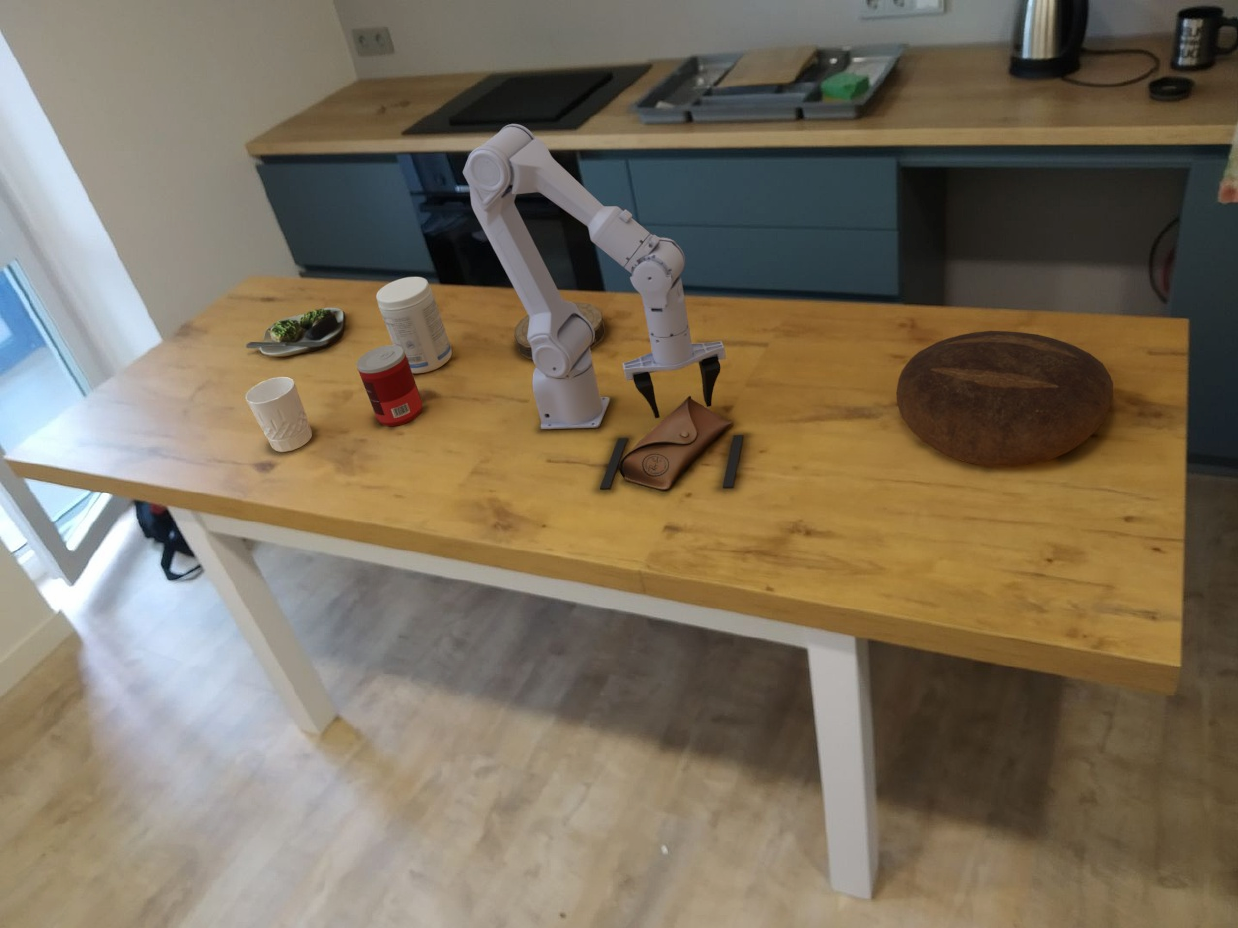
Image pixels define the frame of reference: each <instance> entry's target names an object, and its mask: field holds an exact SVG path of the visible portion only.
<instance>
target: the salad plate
mask: <svg viewBox="0 0 1238 928" xmlns="http://www.w3.org/2000/svg"><path fill="white" fill-rule="evenodd" d="M345 326H346V312H345V311H344V310H343V309H342V308H340V307H333V306H331V307H325V308H319V309H313V310H311V311H310V310H309V311H307V312H306V313H303V314H298V315H293V316H289V317H286V318H285V317H284V318H282V319H279V320H277V321H276V322H274V323H273V324H271V325H270V326H269V327H267V328H266V330H265V331H264V334H263V338H262V341H250V342H248V343H246V345H245V348H246V349H249V350H258V351H260V352H261V354H263V355H266V356H269V357H291V356H294V355H295V356H296V355H301V354H304V353H311V352H315V351H318V350H322V349H325V348H328V347H329V346H331V345H333V344H335V343H337V342H338V341H339V340H340V339H341V337H342V336H343V334H344V330H345Z"/></svg>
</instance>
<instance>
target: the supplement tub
mask: <svg viewBox="0 0 1238 928" xmlns="http://www.w3.org/2000/svg"><path fill="white" fill-rule="evenodd" d="M375 298H376V301H377V306H378V309H379V311H380V315H381V317H382V319H383V322H384V325H385V327H386V331H387V333H388V336H389V338H390V341H391V343H392V344H391V345H397V346H400V347H402V348H403V350H404V351H405V354H406V357H407V359H408V362H409V365H410V368H411V371H412V374H424V373H429V372H432V371H435V370H437V369H439V368H441V367H442V366H443V365H445V364H446V363H448V361H449V360H450V359H451V358H452V355H453V354H452V353H453V350H452V347H451V342H450V340H449V337H448V333H447V332H446V328H445V325H444V322H443V320H442V319H443V318H442V317H441V313H440V310H439V308H438V304H437V302H436V299H435V295H434V293H433V289H432V288H431V286H430V284H429V282H428V280H427V279H426V278H424V277H422V276H407V277H403V278H399V279H396V280H394V281H391V282H389V283H387V284H385V285H384V286H383V287H381V288H380V289H378V291H377V293H376V295H375Z"/></svg>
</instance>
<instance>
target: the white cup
mask: <svg viewBox="0 0 1238 928" xmlns="http://www.w3.org/2000/svg"><path fill="white" fill-rule="evenodd" d="M244 398H245V401H246V403H247V405H248V407H249V408H250V410H251V412H252V414H253V416H254V418H255V420H256V422H257V424H258V425H259V427H260V428H261V430H262V433H263V435H264V436H265V437H266V438H267V441H268V443H269V444H270V446H271V449H273V450H274V451H276V452H280V453H286V452H291V451H294V450H297V449H299V448H302V447H303V446H305V445H306V444H307V443H309V441H310V440H311V439H312V437H313V431H312V428H311V425H310V423H309V420H308V416H307V413H306V410H305V407H304V405H303V402H302V399H301V397H300V394H299V391H298V389H297V386H296V383H295V380H294V379H293V378H291V377H288V376H276V377H273V378H268V379H265V380H263V381H261V382H259V383H257V384H256V385H254V386H253V387H251V388H250V389H249V390H248V391H247V392H246V393H245V397H244Z"/></svg>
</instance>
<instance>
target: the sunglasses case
mask: <svg viewBox="0 0 1238 928" xmlns="http://www.w3.org/2000/svg"><path fill="white" fill-rule="evenodd" d="M733 424H734V422H733V421H732V420H726V419H725V418H724V417H722V416H720V415H718V414H717V413H716V412H713V411H712V410H711V409H709V408H708V407H705V406H704V405H703V404H701V403H699V402H698V401H696V400H695V399H693V398H692V396H691V395H689V396H687V397H686V399H685V400H684V401H683V402H681V404H679V405H678V406H677V407H676V408H675V409H673V410H672V411H671V412H670V413H669V414H668V415H666V417H664V418H663V419H662V420H661V421H660V422H659V423H658V424H656V425H655V426H654V427H653V428H652V429H651V430H650V432H647V434H646V435H645V436H644V437H643V438H642V439H640V441H638V443H637V444H636V445H635V446H634V447H633V448H632V449H631V450H630V451H628V452H627V453H626V454H625V455H623V457H621V459H620V462H619V465H618V470H619V473H620V475H621V477H622V478H623V479H624V480H625V481H627V482H630V483H633V484H636V485H639V486H641V487H642V486H643V487H645V488H650V489H656V490H659V491H665V490H666V491H667V490H669V489H671V487H672V486H673V485H674V483H675V482H676V481H677V480H678V478H679V477H680V476H681V475H682V473H684V471H686V469H687V468H688V467H689V466H690V465H691V464H692V463H693V462H694V461H695V460H696V459H697V458H698V457H699V456H700V455H701V454H703V453H704V451H706V450H707V449H708V447H710V446H711V445H712V444H713V443H714V442H715V441H716V440H717V439H719V437H721V435H723V434H724V433H725V432H726V431H727V430H728V429H729V428H730V427H731V426H732V425H733Z"/></svg>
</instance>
